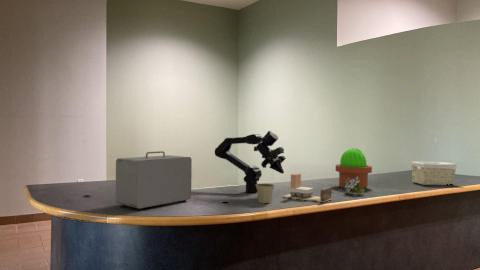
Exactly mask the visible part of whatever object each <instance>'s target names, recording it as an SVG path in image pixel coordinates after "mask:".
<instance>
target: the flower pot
mask: <svg viewBox="0 0 480 270" xmlns="http://www.w3.org/2000/svg"><path fill="white" fill-rule="evenodd" d="M275 186H276V185H275V184H273V183H272V184H271V183H257V184H256V188H257V199H258V203H259V204H264V203H265V204H270V203H272V199H273V193H274V192H273V191H274V188H275Z"/></svg>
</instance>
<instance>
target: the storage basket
mask: <svg viewBox="0 0 480 270" xmlns="http://www.w3.org/2000/svg"><path fill="white" fill-rule="evenodd" d="M410 165H411V171H412V172H411V175H412V179H411V180H412V182H413V183H414V184H415V183H416V184H418V185H423V186H424V185H426V186H435V185H436V186H451V185H450V184H453V185H454V181H455V176H456V170H457V163H451V162H444V161H411V163H410ZM447 184H448V185H447Z"/></svg>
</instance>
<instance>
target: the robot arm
mask: <svg viewBox="0 0 480 270" xmlns="http://www.w3.org/2000/svg"><path fill="white" fill-rule="evenodd" d="M278 140H279V137H278V135H277V134H276V133H274V132H272V131H271V130H268V131H267V133H266V134H265V135H264V136H262V135H261V134H259V133H258V134H257V133H256V134H255V133H253V134H252V133H251V134H248V135H246V136H241V137H226V138H224V139H223V141H222V142H220V144H218V146H217V147H216V148H215V149H214V156H215V157H217V158H219V159H223V160H227V162H229V163H231V165H232V164H233V165H234V166H235V167H236V168H238V169H239V170H240V171H243V173H244V175H245V176H244V177H243V178H242V179H243V182H244V183H245V191H244V193H246V194H250V193H251V194H258V192H257V188H256V184H258V182H259V181H260V178H261V177H262V174H263V173H262V170H261V169H260V167H258V166H256V165H255V164H248V163H246V162H244V161H243V160H242V159H239V157H237V156H235V155H234V154H233V153H232V152H231V148H232V146H233V145H235V144H237V145H238V144H247V145H256V146H254V147H253V152H259V154H260V155H261V158H262V159H263V161H262V162H261V163H260V164H261V167H262V168H263V169H264V168H265V169H266V168H267V165H269V169H272V170H274V171H276V172H278V173H280V174H284V173H285V172H284V169H283V166H282V163H283V162H285V160H286V157H285V156H284V155H281V154H284V153H285V152H284V151H285V149H284V148H283V147H282V146H278V147H276V148H274V149H271V148H270V147H273V145H274V144H275V143H276V142H277V141H278Z"/></svg>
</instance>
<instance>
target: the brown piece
mask: <svg viewBox="0 0 480 270" xmlns="http://www.w3.org/2000/svg"><path fill="white" fill-rule="evenodd" d="M301 178H302V173H292V174H290V188H289V194H290V195H291V196H295V195H297V197H300V196H303V197H304V198H306V197H309V196H314V191H315V190H314V189H315V188H314V187H308V186H302V184H301V183H302V182H301V181H302V179H301Z"/></svg>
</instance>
